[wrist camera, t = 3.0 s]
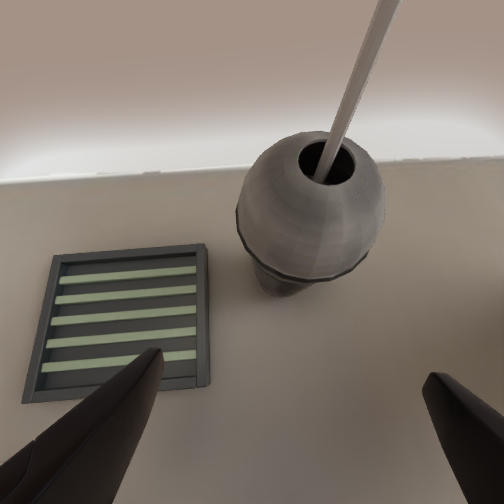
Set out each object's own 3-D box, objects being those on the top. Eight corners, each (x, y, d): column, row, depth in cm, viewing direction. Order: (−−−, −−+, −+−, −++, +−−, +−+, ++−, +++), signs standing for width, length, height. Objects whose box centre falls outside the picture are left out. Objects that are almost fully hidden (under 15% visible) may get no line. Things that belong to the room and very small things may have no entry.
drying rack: (207, 249, 24) (204, 243, 23) (210, 383, 20) (206, 387, 19) (65, 260, 24) (53, 255, 22) (37, 399, 20) (20, 404, 18)
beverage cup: (231, 295, 23) (130, 65, 4) (259, 229, 25) (278, -107, 6) (306, 325, 22) (641, 208, 3) (327, 253, 24) (590, -59, 5)
